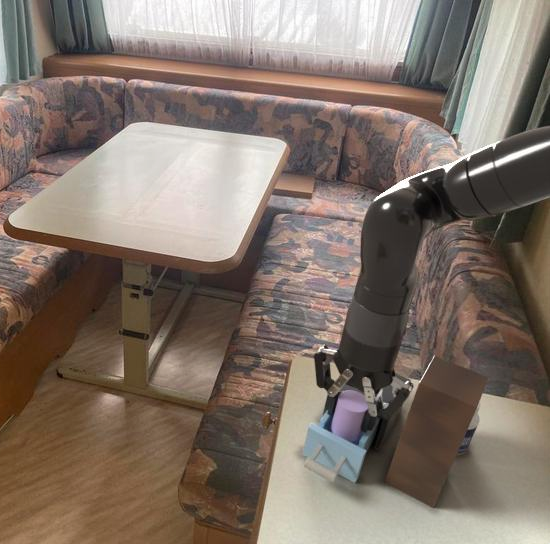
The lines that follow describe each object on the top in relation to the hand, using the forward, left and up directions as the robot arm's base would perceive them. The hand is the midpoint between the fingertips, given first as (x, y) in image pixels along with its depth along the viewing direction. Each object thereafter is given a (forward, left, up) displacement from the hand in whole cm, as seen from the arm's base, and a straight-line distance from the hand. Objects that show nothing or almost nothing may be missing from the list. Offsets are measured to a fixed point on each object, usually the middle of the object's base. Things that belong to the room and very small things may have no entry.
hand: (348, 419), depth 85 cm
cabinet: (0, -9, -7) cm, 11 cm away
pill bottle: (-13, -12, -7) cm, 19 cm away
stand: (-11, -2, -7) cm, 13 cm away
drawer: (0, +2, -6) cm, 7 cm away
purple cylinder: (0, 0, -2) cm, 2 cm away
